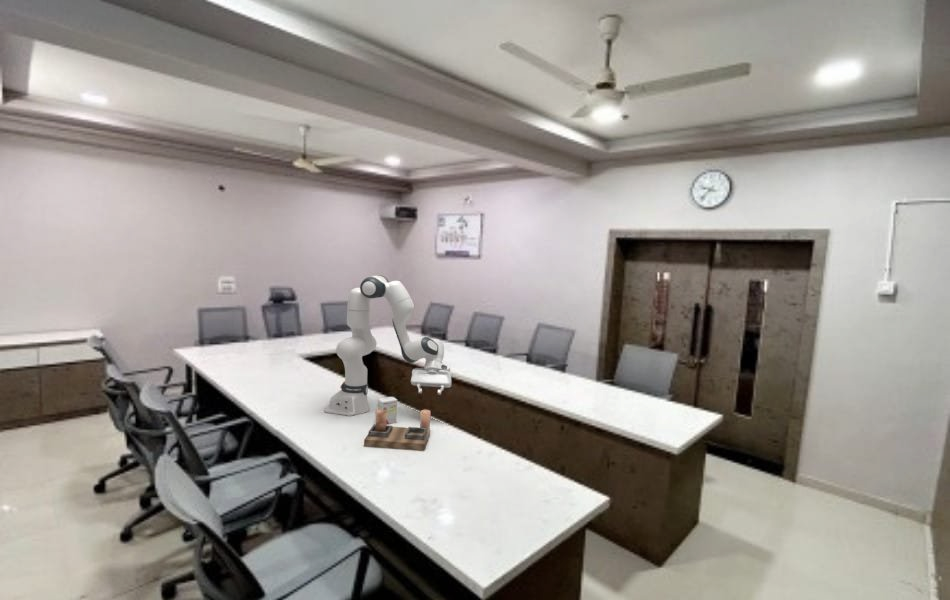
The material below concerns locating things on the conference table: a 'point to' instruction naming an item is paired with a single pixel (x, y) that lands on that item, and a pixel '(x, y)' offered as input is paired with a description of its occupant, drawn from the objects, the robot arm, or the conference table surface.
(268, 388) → the conference table surface
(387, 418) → the ink box
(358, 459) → the conference table surface
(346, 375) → the robot arm
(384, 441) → the build base
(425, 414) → the terracotta pillar
